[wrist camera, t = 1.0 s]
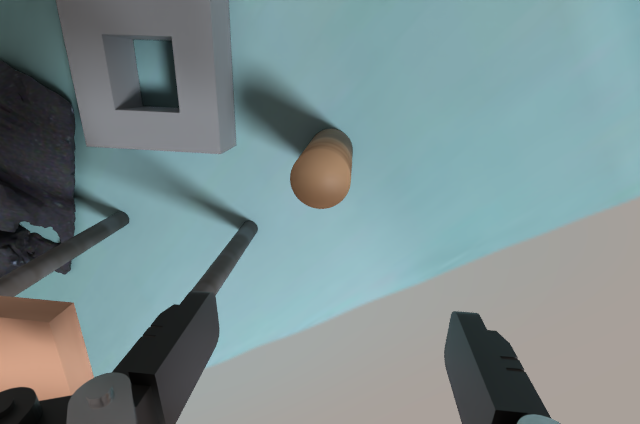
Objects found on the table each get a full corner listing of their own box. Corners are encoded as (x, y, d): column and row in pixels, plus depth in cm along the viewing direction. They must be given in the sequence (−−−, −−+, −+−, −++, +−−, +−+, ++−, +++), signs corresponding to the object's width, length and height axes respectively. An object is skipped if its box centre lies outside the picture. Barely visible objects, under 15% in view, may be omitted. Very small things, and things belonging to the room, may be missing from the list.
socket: (90, -4, 29) (52, -16, 26) (228, -1, 28) (209, -13, 25) (116, 138, 34) (86, 146, 30) (236, 145, 33) (220, 154, 29)
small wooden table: (99, 147, 34) (-379, 278, 12) (257, 156, 33) (48, 322, 11) (115, 230, 38) (-236, 452, 15) (260, 241, 36) (104, 502, 14)
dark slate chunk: (113, 109, 33) (75, 114, 29) (73, 280, 41) (39, 304, 37) (-42, 32, 32) (-106, 25, 28) (-52, 224, 40) (-102, 242, 36)
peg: (310, 127, 31) (290, 148, 22) (354, 129, 31) (352, 151, 22) (309, 170, 33) (290, 206, 24) (351, 172, 33) (348, 210, 23)
